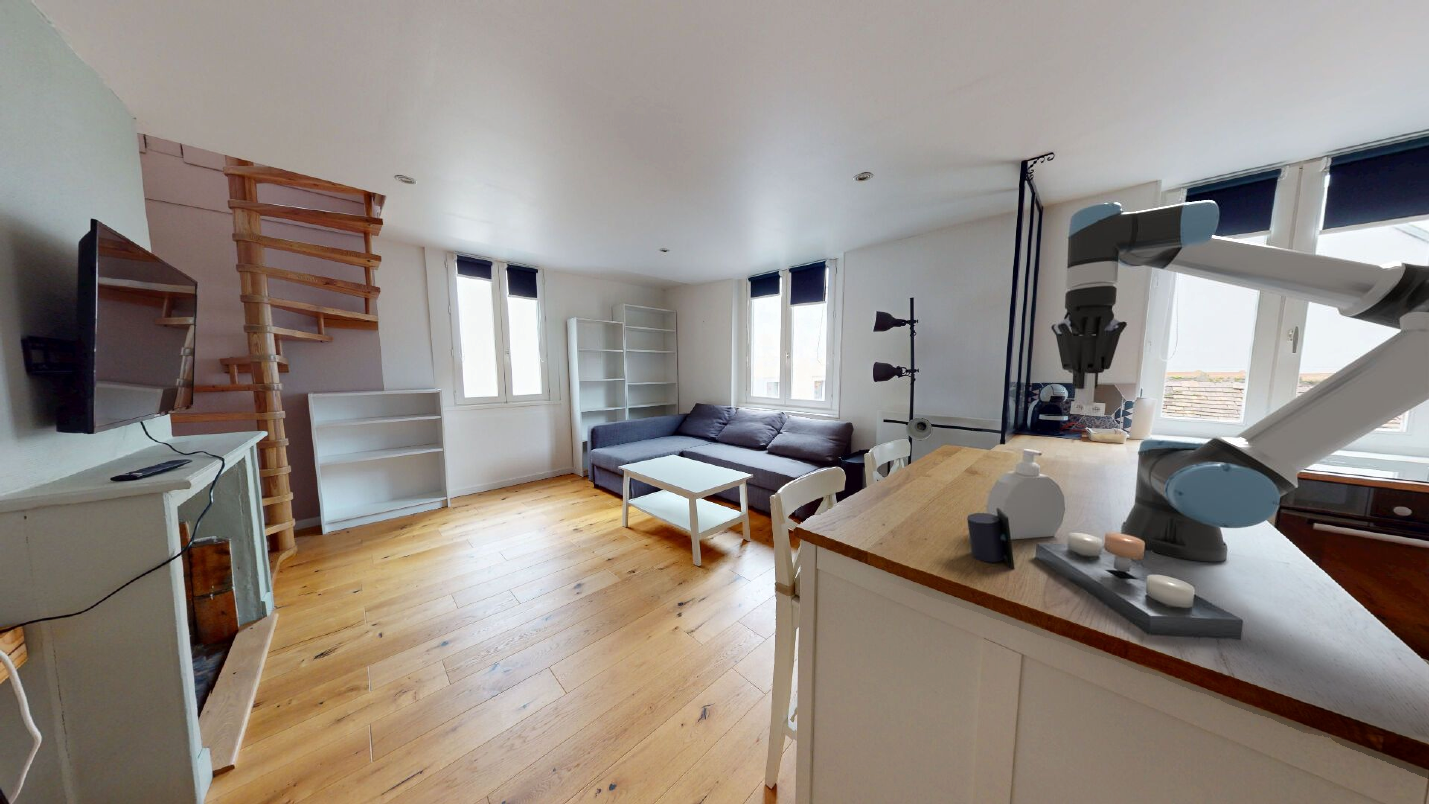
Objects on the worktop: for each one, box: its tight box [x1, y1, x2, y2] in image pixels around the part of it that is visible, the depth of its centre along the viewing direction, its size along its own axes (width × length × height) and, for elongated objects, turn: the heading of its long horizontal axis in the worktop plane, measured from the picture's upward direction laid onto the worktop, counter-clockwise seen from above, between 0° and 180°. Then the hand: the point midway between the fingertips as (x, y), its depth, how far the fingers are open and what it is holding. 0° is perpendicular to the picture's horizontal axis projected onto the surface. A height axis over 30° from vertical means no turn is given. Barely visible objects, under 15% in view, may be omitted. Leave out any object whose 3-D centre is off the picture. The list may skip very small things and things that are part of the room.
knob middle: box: [1103, 532, 1145, 572], centre depth 69 cm, size 5×5×6 cm
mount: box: [1035, 542, 1244, 640], centre depth 70 cm, size 12×24×3 cm, turn 174°
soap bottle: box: [986, 448, 1066, 541], centre depth 92 cm, size 16×5×20 cm, turn 98°
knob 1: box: [1067, 532, 1103, 557], centre depth 78 cm, size 5×5×6 cm
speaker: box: [966, 508, 1015, 570], centre depth 82 cm, size 8×6×10 cm
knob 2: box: [1146, 574, 1195, 608], centre depth 62 cm, size 5×5×6 cm
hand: (1083, 404), depth 82 cm, fingers closed
